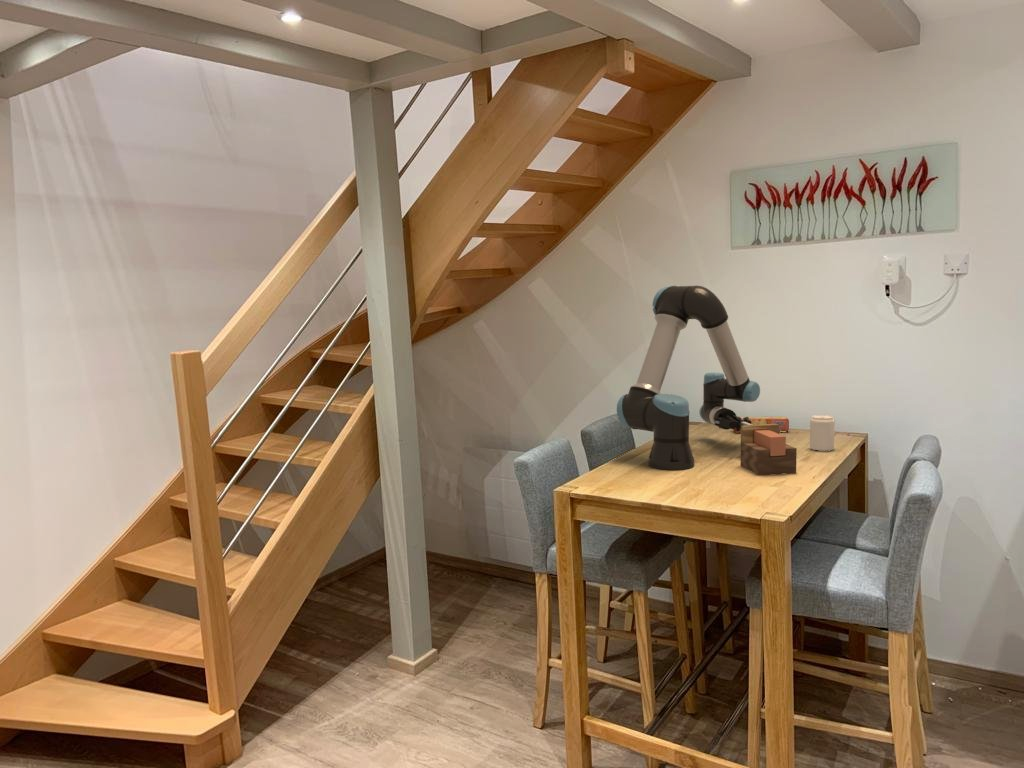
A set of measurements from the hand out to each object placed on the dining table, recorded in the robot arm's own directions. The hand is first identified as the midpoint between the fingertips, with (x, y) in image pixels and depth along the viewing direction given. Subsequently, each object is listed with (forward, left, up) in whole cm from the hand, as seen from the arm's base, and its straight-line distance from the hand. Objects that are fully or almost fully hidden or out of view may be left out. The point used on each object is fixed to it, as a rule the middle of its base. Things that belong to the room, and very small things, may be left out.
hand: (750, 428), depth 273 cm
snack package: (-24, +48, -11) cm, 54 cm away
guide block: (+11, -8, -11) cm, 17 cm away
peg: (+11, -8, -5) cm, 14 cm away
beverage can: (+10, +31, -11) cm, 34 cm away
